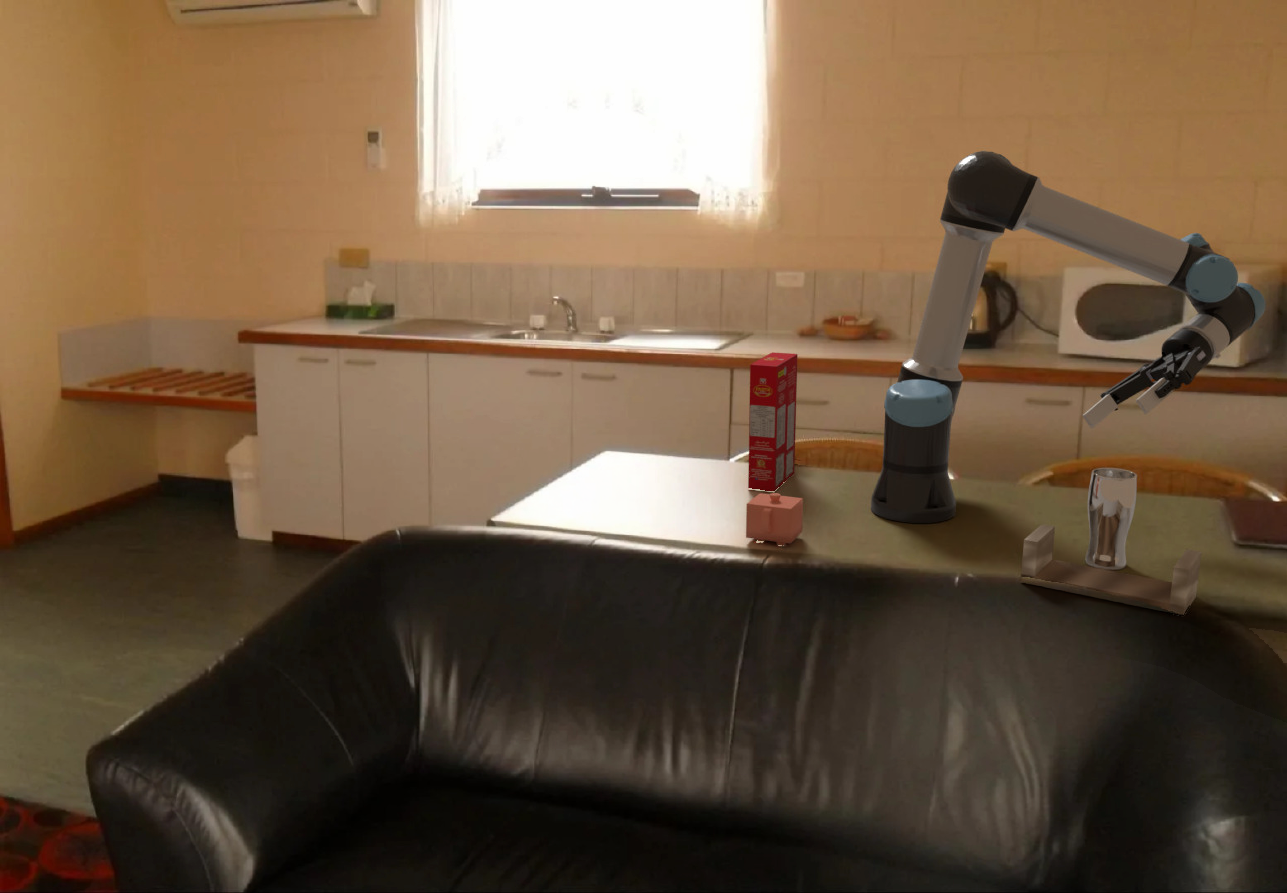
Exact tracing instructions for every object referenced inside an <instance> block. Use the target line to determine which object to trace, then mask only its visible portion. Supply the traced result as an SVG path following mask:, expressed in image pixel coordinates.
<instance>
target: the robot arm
mask: <svg viewBox="0 0 1287 893" xmlns="http://www.w3.org/2000/svg"><path fill="white" fill-rule="evenodd" d="M942 206H943V207H942V209H941V210H942V211H941V216H940V219H939V222H940V224H941V225H942V228H943V229H944V236H943V240H942V245H941V246H940V247H941V248H940V250H939V254H938V257H937V258H938V260H937V263H936V267H935V270H934V274H933V277H932V282H931V285H930V290H929V291H928V296H927V301H926V304H925V307H924V311H923V314H922V315H923V316H922V319H921V323H920V326H919V331H918V335H917V337H916V338H917V339H916V340H915V346H914V349H913V353H912V356H911V357H910V358H907V359H906V360H904V361H903V362H902V364H901V367H900V371H899V374H898V377H897V382H896V383H893V384H891V385H890V386H889V388H888V389H887V391H886V393H885V399H884V402H883V403H884V404H883V406H884V426H883V427H884V430H883V433H884V434H883V451H882V468H881V471H880V475H879V477H878V479H877V482H876V484H875V487H874V490H873V493H872V494H871V498H870V499H871V500H870V510H871V512H872V513H873V514H875V515H877V516H879V517H882V518H883V519H887V520H891V521H896V522H902V523H912V524H932V523H939V522H940V523H941V522H945V521H947V520H950V519H953V517H955V516H956V508H957V500H956V498H955V494H954V491H953V487H952V482H951V480H950V474H949V461H950V460H949V458H950V457H949V456H950V442H951V429H952V422H953V417H954V414H955V412H956V404H957V402H958V399H959V395H960V391H961V387H962V384H963V379H964V376H963V374H962V373H961V371H960V369H959V365H960V364H959V363H960V360H961V356H962V353H963V349H964V345H965V342H966V339H967V335H968V331H969V329H970V328H969V327H970V324H971V321H972V316H973V313H974V310H975V307H976V306H975V305H976V303H977V299H978V296H979V291H980V288H981V286H982V285H981V284H982V282H983V277H984V275H985V271H986V266H987V264H988V259H989V257H990V256H989V255H990V253H991V249H992V247H993V246H992V245H993V243H994V241H995V240H996V239H999V238H1000V237H1002V236H1003V235H1005V234H1004V233H1005V231H1006V230H1009V231H1010V232H1016V231H1020V230H1026V231H1027V232H1028V231H1029V232H1030V233H1033V234H1035V235H1038V236H1041V237H1044V238H1046V239H1049V240H1052V241H1053V242H1057V243H1058V244H1061V245H1064V246H1065V247H1067V248H1071V249H1074V250H1077V251H1078V252H1081V253H1084V254H1086V255H1089V256H1091V257H1094V258H1097V259H1099V260H1102V261H1104V262H1107V263H1108V264H1112V265H1114V266H1115V267H1116V266H1117V267H1119V268H1121V269H1124V270H1126V271H1129V272H1131V273H1134V274H1136V275H1139V276H1142V277H1145V278H1147V279H1149V280H1151V281H1155V283H1156V282H1157V283H1159V284H1162V285H1165V286H1167V287H1169V288H1171V289H1173V290H1175V291H1179V292H1181V293H1183V294H1184V295H1185V297H1186V298H1187V299H1188V301H1189V302H1190V303H1191V305H1192V307H1193V309H1195V311H1196V312H1197V314H1196V315H1194V316H1193V317H1191V318H1190V319H1189V320H1188V321H1186V322H1185V323H1184V324H1183V325H1182V326H1181V327H1179V329H1178V330H1177V331H1175V332H1174V333H1173V334H1171V335H1170V337H1168V338H1167V339H1166V340H1165V341H1164V342H1163V343H1162V346H1161V356H1159V357H1157V358H1156V359H1154V360H1153V361H1152V363H1150V364H1149V362H1148V363H1144V364H1143V365H1142V366H1141V367H1140V368H1139V369H1137V370H1136V371H1134V372H1133V373H1131V374H1130V375H1128V376H1126V377H1125V378H1124V379H1122V380H1121V381H1119V382H1118V383H1116V384H1115V385H1113V386H1112V387H1110V388H1108V389H1107V390H1106V391H1104V392H1102V393H1101V394H1100V395H1099V396H1100V398H1101V399H1100V400H1098V402H1096V403H1095V404H1094V405H1093V406H1091V407H1090V408H1089V409H1088V410H1087V411H1085V413H1083V414H1082V415H1081V416H1082V418H1083V419H1084V420H1085V422H1086V424H1087V425H1088V426H1089V428H1090V429H1093V428H1095V427H1097V425H1099V424H1100V423H1101V422H1103V421H1104V420H1105V419H1106V418H1107V417H1108V416H1109V415H1110V414H1111V413H1113V412H1114V411H1115V412H1116V411H1118V410H1119V405H1121V404H1122V403H1123V402H1125V401H1126V400H1128V399H1130V398H1132V397H1133V396H1135V395H1137V394H1138V393H1141V392H1142V391H1144V390H1145V389H1147V388H1148V389H1147V390H1146V391H1144V392H1143V393H1142V394H1141V395H1140V396H1139V397H1137V398H1136V399H1135V402H1136V404H1137V405H1138V407H1139V408H1140V410H1141V411H1142V412H1143V414H1144V415H1146V414H1149V413H1150V412H1152V410H1153V409H1155V408H1156V407H1157V406H1158V405H1159V404H1160V403H1162V401H1164V400H1165V399H1166V398H1167V397H1169V396H1170V395H1171V394H1172V393H1173V392H1174V390H1179V389H1180V388H1181V387H1182V386H1183V384H1184V386H1187V385H1190V384H1192V382H1193V381H1194V379H1195V377H1196V376H1197V374H1198V373H1200V372H1201V371H1202V370H1203V369H1204V368H1205V367H1206V366H1208V364H1210V363H1211V362H1212V361H1213V360H1214V359H1219V358H1221V354H1220V353H1221V352H1223V351H1224V350H1225V349H1226V348H1228V347H1229V346H1230V345H1231V344H1232V343H1233V342H1235V341H1236V340H1237V339H1238V338H1239V337H1241V336H1242V335H1243V334H1245V333H1246V332H1247V331H1248V330H1250V329H1251V328H1253V326H1254V325H1255V324H1256V322H1258V321H1259V320H1260V318H1262V316H1263V315H1264V313H1265V310H1266V300H1265V297H1264V294H1263V293H1262V292H1261V291H1260V290H1259V289H1257V288H1254V286H1253V285H1252V284H1250V283H1248V282H1247V283H1246V282H1238V281H1239V273H1238V270H1237V268H1236V266H1235V264H1234V262H1233V261H1231V260H1230V258H1229V257H1227V256H1223V255H1222V254H1218V253H1216V252H1215V251H1214V250H1213V248H1211V246H1210V243H1209V242H1207V241H1206V240H1205V238H1204V236H1203V235H1202V234H1201V233H1199V232H1194V233H1190V234H1188V235H1186V236H1184V237H1182V238H1181V239H1180V238H1176V237H1175V236H1172V235H1169V234H1167V233H1164V232H1161V231H1159V230H1156V229H1154V228H1151V227H1149V226H1146V225H1144V224H1142V223H1139V222H1136V221H1134V220H1131V219H1129V218H1125V217H1123V216H1121V215H1118V214H1116V213H1113V212H1111V211H1107V210H1106V209H1103V208H1100V207H1098V206H1095V205H1092V204H1091V203H1088V202H1086V201H1083V200H1080V199H1078V198H1075V197H1073V196H1070V195H1068V194H1066V193H1065V194H1064V193H1062V192H1059V191H1057V190H1055V189H1052V188H1050V187H1048V186H1045V185H1043V183H1042V180H1041V178H1040V177H1039V176H1037V175H1034V174H1031V173H1028V172H1027V171H1024V170H1022V169H1021V168H1019V167H1017V166H1016V165H1014V164H1013V163H1012V162H1011V161H1010V159H1008V158H1006V157H1005V156H1004V155H1003V154H1000V153H996V152H994V151H987V150H980V151H976V152H973V153H971V154H968V155H967V156H965V157H963V158H962V159H961V160H960V161H958V163H956V165H955V166H954V167H953V169H952V171H951V172H950V174H949V177H948V180H947V192H946V195H945V198H944V203H943V205H942ZM1152 380H1153V381H1152Z"/></svg>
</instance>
